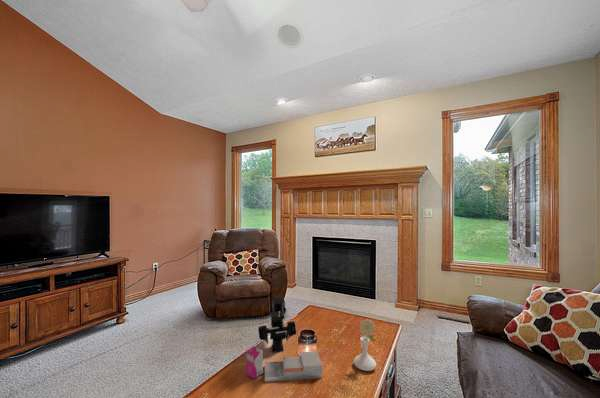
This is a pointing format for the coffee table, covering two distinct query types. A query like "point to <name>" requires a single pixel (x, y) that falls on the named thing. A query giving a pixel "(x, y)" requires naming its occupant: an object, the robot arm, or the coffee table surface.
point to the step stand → (294, 368)
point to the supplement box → (254, 362)
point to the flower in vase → (365, 347)
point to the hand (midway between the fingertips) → (277, 341)
